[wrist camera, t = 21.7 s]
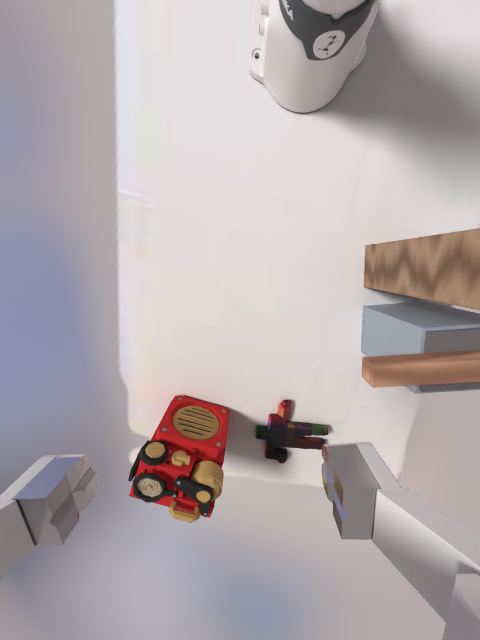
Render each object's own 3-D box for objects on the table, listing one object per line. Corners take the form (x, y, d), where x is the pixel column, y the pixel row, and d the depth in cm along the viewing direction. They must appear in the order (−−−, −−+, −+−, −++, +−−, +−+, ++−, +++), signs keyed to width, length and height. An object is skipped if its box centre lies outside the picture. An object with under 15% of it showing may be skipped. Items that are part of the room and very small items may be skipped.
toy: (282, 393, 53) (284, 400, 50) (335, 428, 55) (340, 437, 52) (243, 438, 56) (243, 447, 54) (294, 469, 58) (297, 480, 56)
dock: (363, 306, 47) (425, 329, 31) (423, 301, 47) (519, 322, 30) (361, 351, 50) (417, 395, 33) (418, 347, 49) (505, 390, 33)
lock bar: (362, 357, 32) (374, 366, 29) (529, 346, 31) (558, 355, 28) (361, 376, 33) (372, 387, 30) (524, 366, 32) (552, 377, 29)
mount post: (365, 245, 44) (495, 225, 21) (429, 239, 44) (636, 212, 21) (363, 286, 46) (481, 310, 23) (425, 281, 46) (610, 300, 22)
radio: (234, 408, 54) (227, 489, 35) (222, 442, 56) (209, 536, 37) (169, 389, 53) (125, 461, 34) (160, 425, 56) (114, 511, 36)
